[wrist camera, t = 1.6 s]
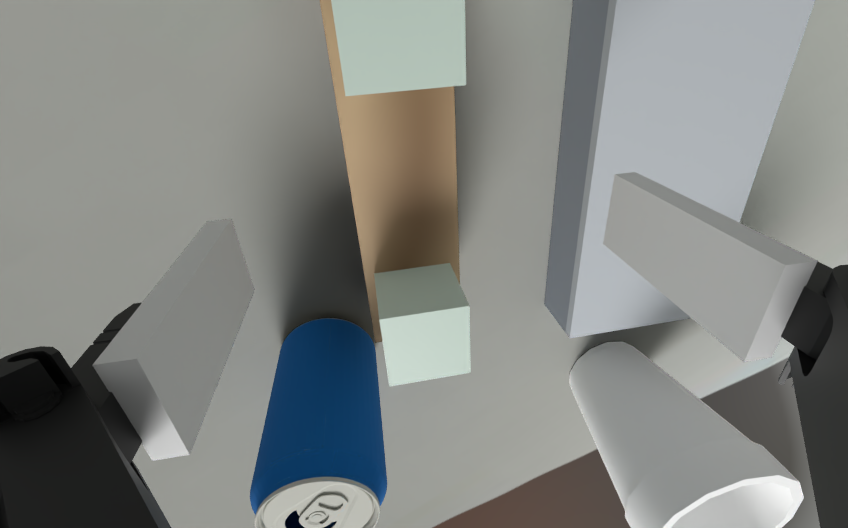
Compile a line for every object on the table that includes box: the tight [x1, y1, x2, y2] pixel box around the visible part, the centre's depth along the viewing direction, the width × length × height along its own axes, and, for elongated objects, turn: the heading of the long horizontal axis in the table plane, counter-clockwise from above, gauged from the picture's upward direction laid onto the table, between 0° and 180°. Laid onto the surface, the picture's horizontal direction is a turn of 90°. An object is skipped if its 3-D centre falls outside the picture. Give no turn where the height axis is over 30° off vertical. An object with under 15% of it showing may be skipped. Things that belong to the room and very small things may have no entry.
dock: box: [544, 0, 815, 338], centre depth 24 cm, size 10×22×4 cm, turn 4°
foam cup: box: [569, 341, 804, 528], centre depth 29 cm, size 10×9×13 cm
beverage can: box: [250, 318, 387, 528], centre depth 24 cm, size 6×6×12 cm
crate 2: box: [374, 263, 471, 386], centre depth 21 cm, size 4×4×4 cm
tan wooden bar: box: [320, 0, 460, 343], centre depth 21 cm, size 5×18×5 cm, turn 4°
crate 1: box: [331, 0, 466, 96], centre depth 14 cm, size 4×4×4 cm
